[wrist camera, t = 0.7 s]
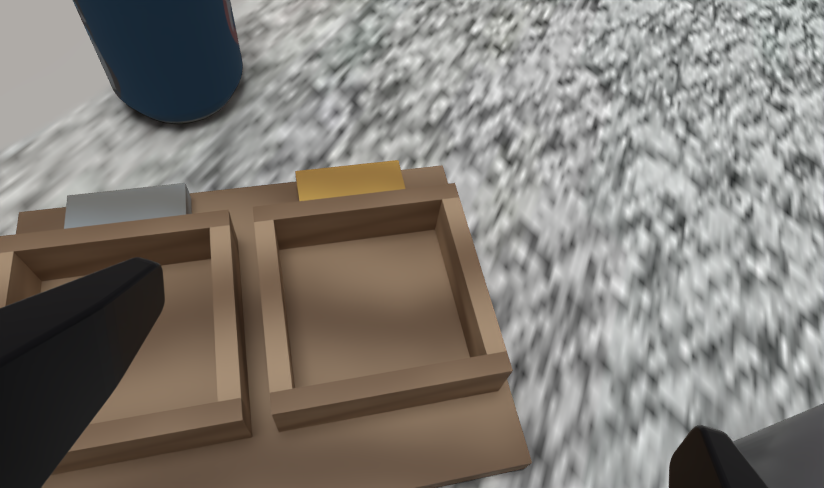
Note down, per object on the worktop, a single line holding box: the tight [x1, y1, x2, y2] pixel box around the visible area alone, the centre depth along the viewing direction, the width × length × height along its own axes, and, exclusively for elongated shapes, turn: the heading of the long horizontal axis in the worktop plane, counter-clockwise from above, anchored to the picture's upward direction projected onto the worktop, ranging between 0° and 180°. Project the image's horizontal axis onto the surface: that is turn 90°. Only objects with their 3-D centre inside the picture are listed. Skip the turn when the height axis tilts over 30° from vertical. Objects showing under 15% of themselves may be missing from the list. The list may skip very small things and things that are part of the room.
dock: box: [0, 160, 532, 488], centre depth 24 cm, size 15×20×4 cm
